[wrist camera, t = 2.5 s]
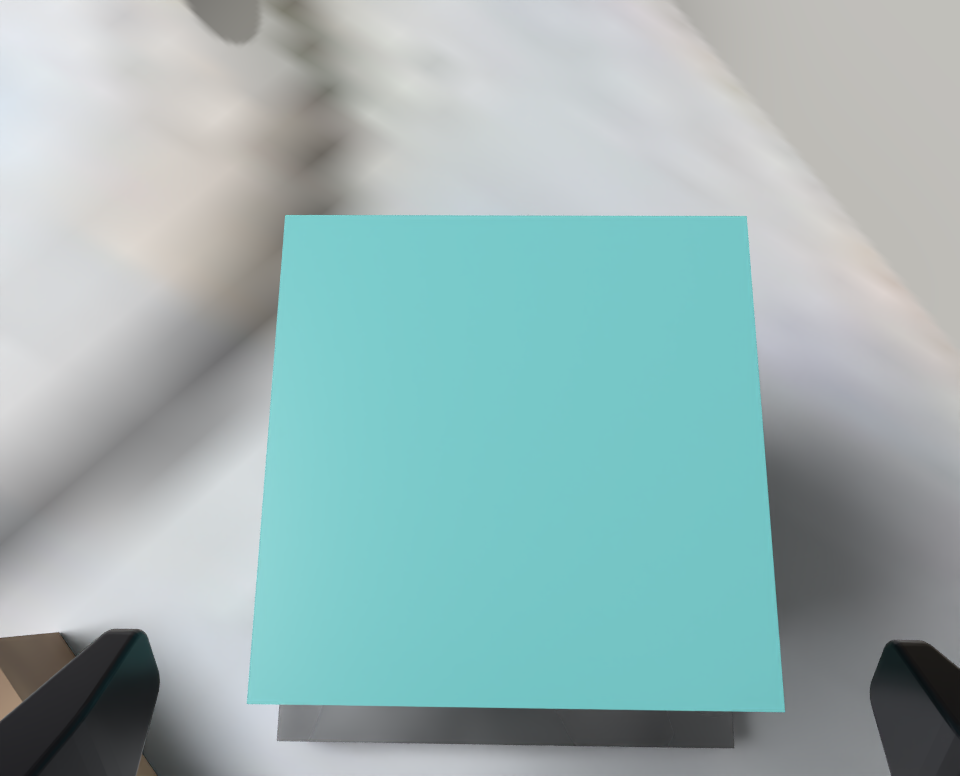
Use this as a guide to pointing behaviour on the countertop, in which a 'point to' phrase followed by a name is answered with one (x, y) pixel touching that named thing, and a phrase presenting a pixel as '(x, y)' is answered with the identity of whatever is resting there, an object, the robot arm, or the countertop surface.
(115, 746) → the robot arm
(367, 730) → the post stand
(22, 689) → the board
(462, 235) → the turquoise square block
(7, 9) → the countertop surface
